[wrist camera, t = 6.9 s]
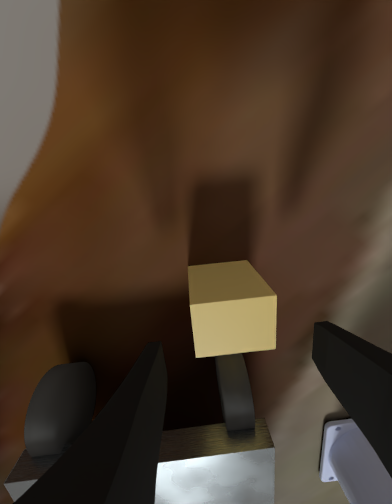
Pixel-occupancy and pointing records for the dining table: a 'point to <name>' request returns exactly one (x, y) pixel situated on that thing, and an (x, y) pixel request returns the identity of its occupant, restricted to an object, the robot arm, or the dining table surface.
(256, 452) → the trolley
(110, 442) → the robot arm
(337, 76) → the dining table surface
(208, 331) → the yellow cube-like block
